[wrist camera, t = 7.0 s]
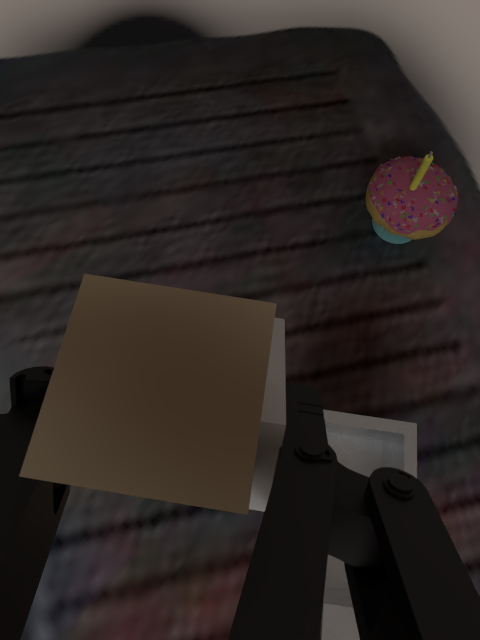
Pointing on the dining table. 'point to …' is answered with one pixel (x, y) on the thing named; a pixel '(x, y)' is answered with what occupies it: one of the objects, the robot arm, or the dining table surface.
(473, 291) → the dining table surface
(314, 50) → the dining table surface
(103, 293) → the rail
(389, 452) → the bracket
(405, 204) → the cupcake
